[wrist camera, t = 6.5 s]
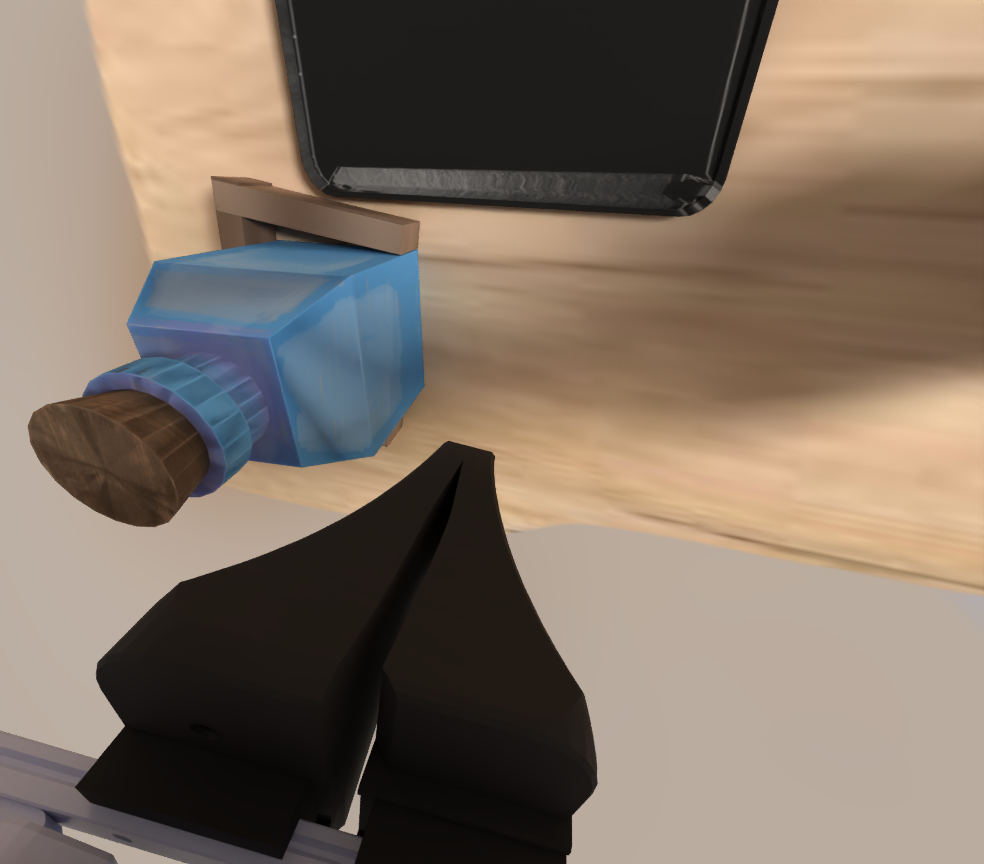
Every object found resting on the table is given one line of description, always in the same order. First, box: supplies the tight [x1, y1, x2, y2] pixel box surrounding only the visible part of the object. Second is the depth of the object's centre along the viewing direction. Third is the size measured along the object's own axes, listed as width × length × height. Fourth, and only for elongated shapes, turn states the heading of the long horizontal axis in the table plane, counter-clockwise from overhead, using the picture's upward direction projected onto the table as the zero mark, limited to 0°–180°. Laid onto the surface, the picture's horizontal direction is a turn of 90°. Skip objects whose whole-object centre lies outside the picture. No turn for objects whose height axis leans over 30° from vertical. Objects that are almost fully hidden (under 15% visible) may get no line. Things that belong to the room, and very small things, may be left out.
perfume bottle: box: [28, 240, 424, 527], centre depth 14 cm, size 6×6×12 cm
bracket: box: [211, 176, 420, 447], centre depth 18 cm, size 7×10×2 cm
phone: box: [275, 0, 779, 217], centre depth 13 cm, size 8×1×15 cm
